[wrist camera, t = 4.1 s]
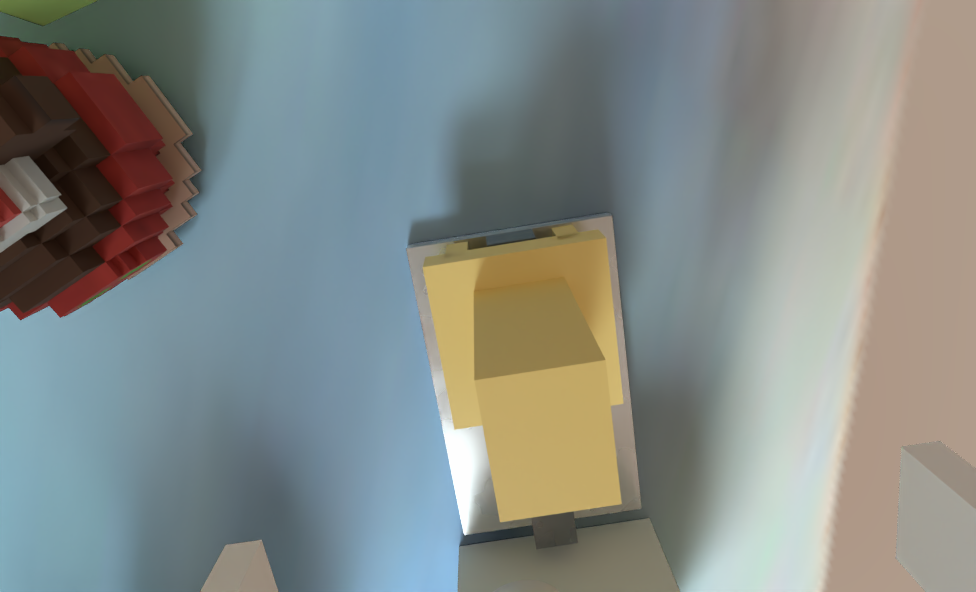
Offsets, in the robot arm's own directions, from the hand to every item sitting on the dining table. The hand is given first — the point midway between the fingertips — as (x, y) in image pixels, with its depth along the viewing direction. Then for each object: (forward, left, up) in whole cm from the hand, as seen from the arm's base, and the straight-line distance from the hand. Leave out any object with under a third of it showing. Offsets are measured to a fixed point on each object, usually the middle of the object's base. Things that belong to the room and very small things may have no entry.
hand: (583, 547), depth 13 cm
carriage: (0, 0, -16) cm, 16 cm away
